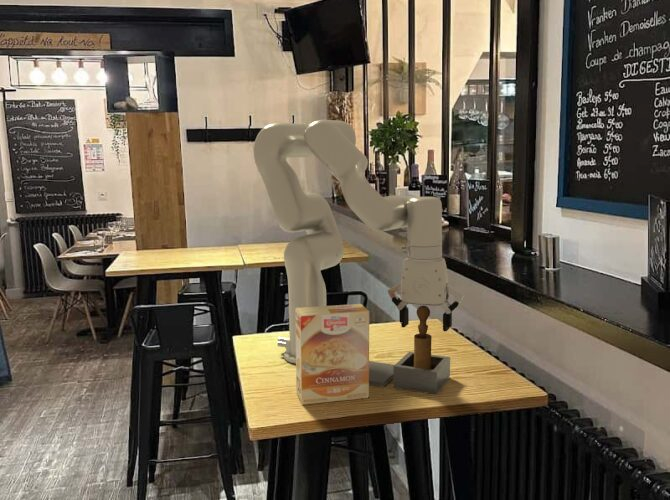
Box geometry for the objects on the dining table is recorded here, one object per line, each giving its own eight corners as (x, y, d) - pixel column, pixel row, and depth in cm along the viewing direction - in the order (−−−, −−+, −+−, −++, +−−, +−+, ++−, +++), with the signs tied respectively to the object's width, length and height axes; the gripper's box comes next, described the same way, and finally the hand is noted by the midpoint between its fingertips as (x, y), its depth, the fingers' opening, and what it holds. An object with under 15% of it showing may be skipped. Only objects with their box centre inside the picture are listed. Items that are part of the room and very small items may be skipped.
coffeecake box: (301, 405, 131) (300, 315, 128) (295, 393, 138) (294, 307, 135) (370, 398, 135) (370, 310, 131) (361, 386, 141) (361, 302, 138)
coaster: (343, 380, 145) (343, 376, 145) (363, 364, 156) (363, 360, 156) (384, 386, 141) (384, 382, 141) (401, 369, 152) (401, 365, 152)
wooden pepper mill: (414, 389, 139) (415, 310, 137) (403, 379, 146) (404, 303, 143) (441, 386, 141) (443, 308, 138) (429, 376, 147) (430, 301, 144)
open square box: (393, 387, 141) (393, 366, 140) (409, 371, 150) (409, 351, 150) (436, 394, 136) (437, 372, 136) (449, 377, 146) (450, 357, 145)
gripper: (382, 253, 139) (383, 328, 141) (459, 257, 131) (459, 336, 134) (393, 249, 145) (394, 320, 148) (467, 251, 138) (467, 327, 141)
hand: (425, 327), depth 141 cm, fingers open, 9 cm apart
